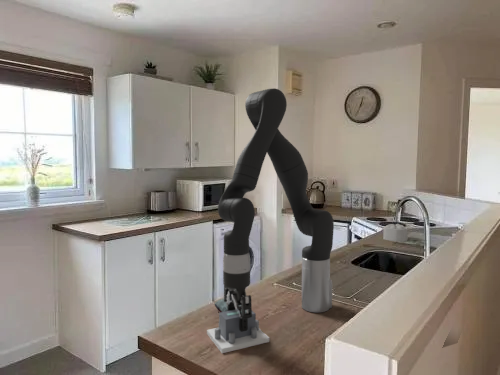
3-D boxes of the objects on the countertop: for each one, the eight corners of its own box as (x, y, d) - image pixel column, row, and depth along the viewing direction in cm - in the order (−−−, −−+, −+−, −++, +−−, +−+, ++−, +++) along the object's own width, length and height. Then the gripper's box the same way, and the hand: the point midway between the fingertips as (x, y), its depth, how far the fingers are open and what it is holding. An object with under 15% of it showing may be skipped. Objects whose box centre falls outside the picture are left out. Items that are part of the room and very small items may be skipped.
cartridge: (248, 326, 113) (248, 306, 112) (255, 334, 109) (255, 312, 108) (219, 333, 109) (219, 312, 109) (225, 340, 105) (225, 319, 104)
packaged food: (238, 306, 132) (237, 292, 131) (251, 319, 121) (251, 304, 120) (213, 310, 128) (213, 296, 128) (225, 325, 118) (224, 309, 117)
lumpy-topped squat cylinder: (388, 236, 236) (388, 222, 235) (410, 239, 228) (410, 224, 227) (381, 239, 228) (381, 224, 228) (403, 242, 220) (404, 227, 219)
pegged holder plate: (250, 324, 117) (250, 312, 117) (269, 341, 106) (269, 328, 106) (207, 333, 111) (206, 321, 111) (221, 353, 101) (221, 339, 100)
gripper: (260, 273, 102) (260, 332, 104) (238, 260, 115) (239, 312, 117) (234, 277, 99) (234, 338, 101) (215, 263, 112) (216, 317, 113)
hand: (237, 324), depth 109 cm, fingers open, 8 cm apart
